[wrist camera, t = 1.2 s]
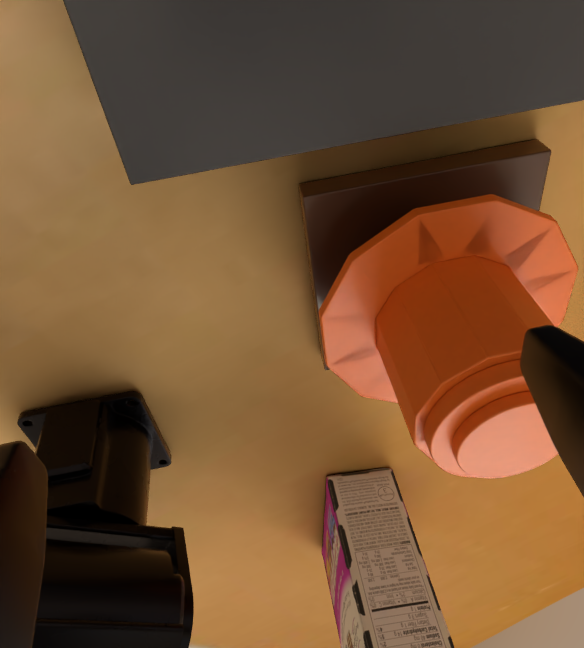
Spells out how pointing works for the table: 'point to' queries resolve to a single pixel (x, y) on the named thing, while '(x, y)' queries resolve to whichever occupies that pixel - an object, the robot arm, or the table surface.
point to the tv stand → (314, 72)
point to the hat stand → (407, 200)
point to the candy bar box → (377, 566)
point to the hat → (453, 328)
